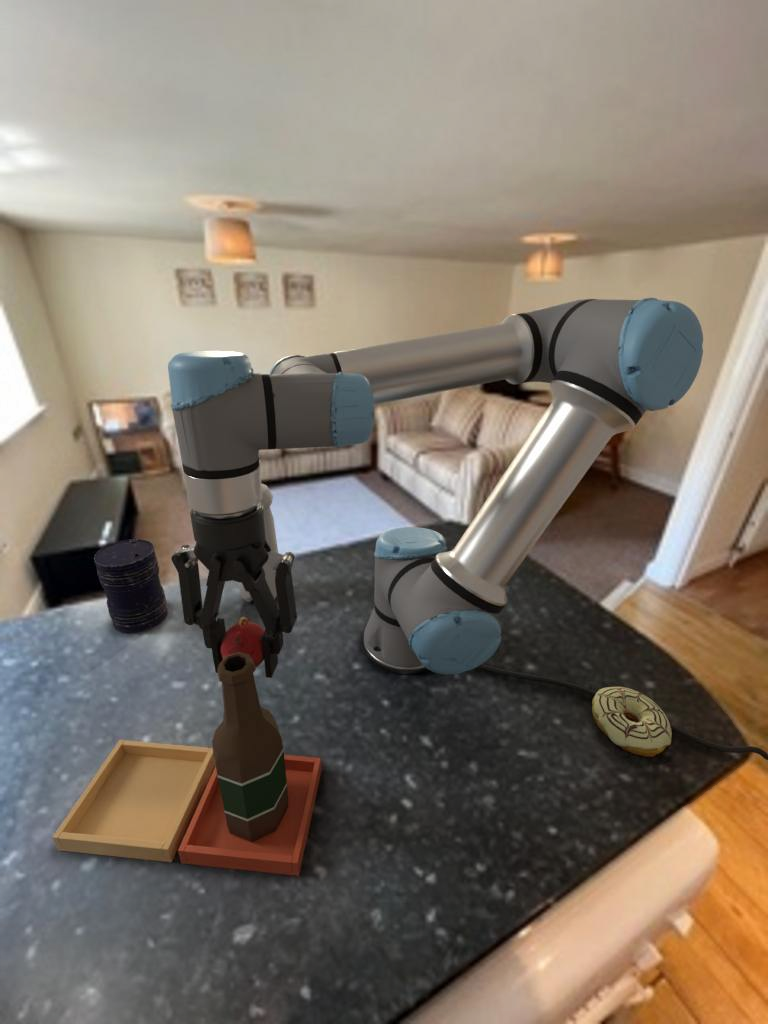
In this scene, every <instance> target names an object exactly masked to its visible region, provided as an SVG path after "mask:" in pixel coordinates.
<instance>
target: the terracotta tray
mask: <svg viewBox="0 0 768 1024" xmlns="http://www.w3.org/2000/svg"><path fill="white" fill-rule="evenodd" d="M284 758H285V769H286V779H287V789H288V808H287V810H286V812H285V814H284V816H283V818H282V820H281V822H280V824H279V826H278V828H277V830H276V831H274V832H272V833H270V834H268V835H266V836H264V837H262V838H260V839H258V840H256V841H254V842H250V841H248V840H245V839H243V838H240V837H238V836H235V835H233V834H230V832H229V829H228V826H227V821H226V816H225V811H224V806H223V801H222V796H221V791H220V786H219V781H218V776H217V771H216V766H215V767H214V769H213V771H212V774H211V776H210V778H209V780H208V782H207V785H206V787H205V789H204V791H203V794H202V796H201V798H200V800H199V803H198V805H197V807H196V809H195V812H194V814H193V816H192V818H191V821H190V823H189V825H188V827H187V829H186V832H185V834H184V836H183V838H182V841H181V843H180V845H179V847H178V850H177V852H178V856H179V859H180V863H181V864H184V865H193V866H202V867H203V866H204V867H211V868H221V869H222V868H223V869H229V870H230V869H231V870H240V871H249V872H259V873H269V874H277V875H285V876H295V877H296V876H297V877H299V876H300V873H301V869H302V863H303V859H304V855H305V849H306V845H307V841H308V835H309V832H310V827H311V821H312V817H313V811H314V808H315V803H316V798H317V795H318V794H317V793H318V789H319V785H320V780H321V776H322V770H323V769H322V758H321V757H315V756H304V755H293V754H284Z"/></svg>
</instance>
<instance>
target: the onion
mask: <svg viewBox="0 0 768 1024" xmlns="http://www.w3.org/2000/svg"><path fill="white" fill-rule="evenodd" d="M264 631H265V629H264V628H262V626H260V625H259V624H257V623H255V622H253V621H249V618H248V617H246V616H242V617H240V618H239V619H238V621H237V622H236V623H235V624H233V625H231V626H230V627H229V628H228V629H227V630H226V633H225V634H224V636H223V639H222V643H221V646H220V652H221V655H222V658H223V659H224V658H225V657H226V656H228V655H231V654H234V653H238V652H241V653H244V654H248V655H250V656H251V658H252V660H253V663H254V665H255V668H257V667H258V666H260V665H261V664H262V663H263V662H264V654H263V644H262V635H263V633H264Z"/></svg>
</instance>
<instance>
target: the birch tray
mask: <svg viewBox="0 0 768 1024" xmlns="http://www.w3.org/2000/svg"><path fill="white" fill-rule="evenodd" d="M214 769H215V760H214V755H213V747H203V746H193V745H181V744H170V743H169V744H168V743H158V742H149V741H148V742H147V741H136V740H126V739H125V740H124V739H119V740H118V741H117V743H116V744H115V746H114V747H113V749H112V750H111V751H110V753H109V755H108V756H107V758H106V759H105V760H104V761H103V763H102V765H101V766H100V768H99V769H98V770H97V772H96V774H95V775H94V776H93V778H92V779H91V780H90V782H89V784H88V785H87V786H86V787H85V789H84V791H83V792H82V794H81V795H80V797H79V798H78V799H77V801H76V802H75V803H74V805H73V807H72V808H71V809H70V811H69V812H68V813H67V816H66V817H65V818H64V820H62V822H61V824H60V826H59V827H58V829H57V830H56V831H55V833H54V834H53V836H52V837H51V838H52V841H53V842H54V844H55V846H56V848H57V851H62V852H70V853H81V854H90V855H98V856H99V855H100V856H108V857H119V858H128V859H137V860H145V861H155V862H165V863H172V862H173V860H174V858H175V856H176V854H177V852H178V849H179V847H180V845H181V843H182V840H183V838H184V836H185V834H186V832H187V829H188V827H189V825H190V823H191V820H192V818H193V816H194V814H195V811H196V809H197V807H198V805H199V802H200V800H201V798H202V796H203V793H204V791H205V789H206V787H207V784H208V782H209V780H210V778H211V775H212V773H213V771H214Z"/></svg>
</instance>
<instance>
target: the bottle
mask: <svg viewBox="0 0 768 1024" xmlns="http://www.w3.org/2000/svg"><path fill="white" fill-rule="evenodd" d="M259 463H260V464H259V465H260V466H261V464H262V463H261V460H260V459H259ZM262 478H263V476H262V475H261V479H262ZM261 487H262V500H261V501H260V502H261V503H262V504H263V507H264V519H265V530H266V541H267V543H268V545H269V546H270V548H271V551H273V552H276V553H279V548H278V542H277V541H278V539H277V534H276V527H275V519H274V516H273V513H272V509H271V505H272V503H273V498H274V495H273V492H272V491H271V489H270V488H269V487H268V485H267V484H264V483H261ZM263 569H264V572H265V579H266V582H267V584H268V586H269V588H270V591H271V593H272V595H273V598H274V600H275V601H276V599H277V593H276V586H275V576H276V574H273V573H272V569H271V565H270V563H268V562H266V563H265V564H264V565H263ZM237 584H238V590H239V596H240V597H241V598H242V599H243V600H244V601H245V602H246V603H248V604H250V603H251V602H253V600H252V598H251V596H250V593H249V592H247V591H246V590H245V589H244V586H243V584H242V583H240V582H237Z"/></svg>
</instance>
